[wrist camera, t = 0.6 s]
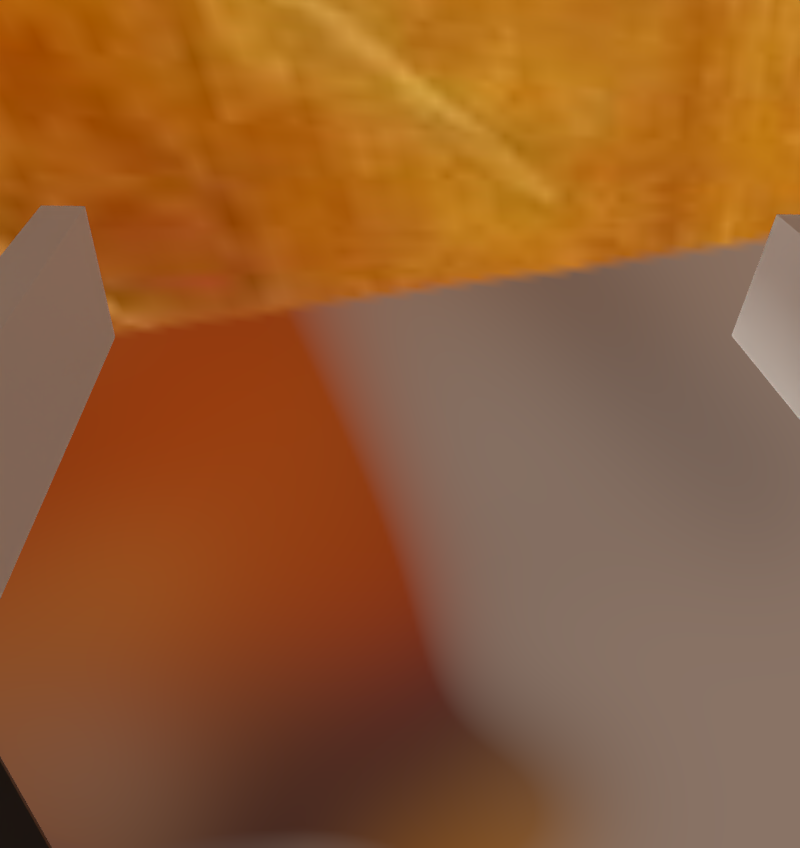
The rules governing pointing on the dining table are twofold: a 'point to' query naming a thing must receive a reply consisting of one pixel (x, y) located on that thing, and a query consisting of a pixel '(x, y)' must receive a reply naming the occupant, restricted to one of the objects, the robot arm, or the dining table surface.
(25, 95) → the dining table surface
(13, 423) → the robot arm
